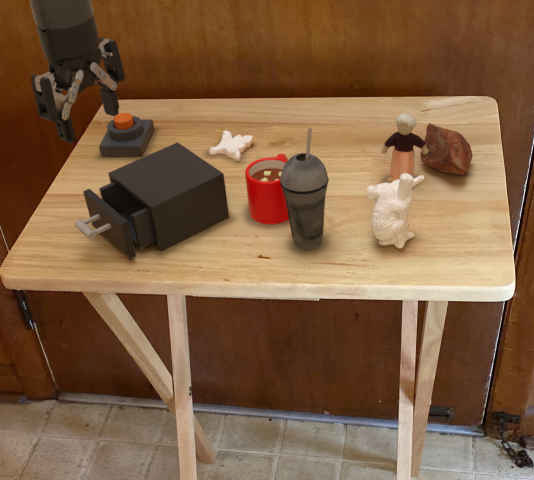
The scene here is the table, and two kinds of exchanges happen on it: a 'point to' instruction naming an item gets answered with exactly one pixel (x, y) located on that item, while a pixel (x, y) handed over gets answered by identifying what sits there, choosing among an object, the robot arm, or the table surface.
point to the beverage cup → (305, 197)
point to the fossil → (446, 150)
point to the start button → (123, 121)
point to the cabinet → (176, 192)
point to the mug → (266, 190)
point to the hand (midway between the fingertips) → (91, 127)
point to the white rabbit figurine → (392, 210)
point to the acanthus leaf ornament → (232, 145)
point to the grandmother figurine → (403, 147)
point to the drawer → (118, 219)
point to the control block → (127, 138)
